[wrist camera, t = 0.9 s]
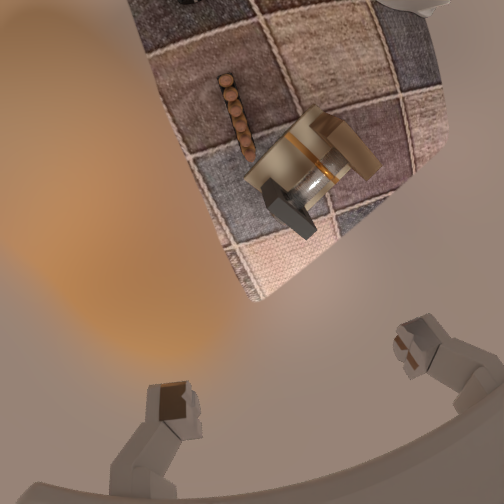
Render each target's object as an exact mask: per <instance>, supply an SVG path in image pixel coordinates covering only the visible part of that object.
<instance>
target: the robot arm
mask: <svg viewBox="0 0 504 504" xmlns="http://www.w3.org/2000/svg"><path fill="white" fill-rule="evenodd" d="M377 1H378V2H380V3H381V4H383V5H385V6H387V7H390V8H393V9H396V10H401V11H410V12H413V13H415V14H417V15H419V16H421V17H423V18H428V17H430V16H431V15H432V14H433V12H434V11H435V9H436V8H437V7H440V6H445V5H448V4H450V0H377ZM396 332H397V334H398V335H397V336H396V338H395V339H394V342H393V350H394V353H395V355H396V357H397V359H398V360H399V361H401V362H403V363H404V365H403V369H404V370H405V372H406V374H407V375H408V377H409V378H410V380H411V379H414V378H416V377H418V376H420V375H422V374H425V373H427V374H428V375H430V376H431V377H433V378H435V379H436V380H438V381H440V382H441V383H443V384H444V385H446V386H448V387H449V388H451V389H453V390H454V391H456V392H458V393H459V395H458V396H457V398H456V399H455V400H454V403H453V406H454V407H455V409H456V411H457V413H458V414H459V415H458V416H456V417H454V418H453V419H451V420H450V421H448V422H446V423H445V424H443V425H441V426H440V427H438V428H436V429H434V430H432V431H431V432H429V433H427V434H425V435H423V436H421V437H419V438H418V439H416V440H414V441H412V442H410V443H408V444H406V445H404V446H401V447H399V448H397V449H395V450H393V451H390V452H388V453H386V454H384V455H382V456H379V457H377V458H374V459H372V460H369V461H367V462H364V463H362V464H359V465H356V466H354V467H351V468H348V469H345V470H342V471H339V472H336V473H333V474H329V475H326V476H323V477H319V478H316V479H312V480H309V481H305V482H301V483H297V484H293V485H289V486H284V487H279V488H275V489H269V490H264V491H258V492H252V493H246V494H238V495H231V496H221V497H209V498H192V499H177V490H176V486H175V485H174V484H173V483H171V482H170V481H168V480H166V479H165V478H163V477H164V475H165V473H166V471H167V469H168V467H169V465H170V464H171V462H172V460H173V458H174V456H175V454H176V452H177V450H178V449H179V447H180V445H181V443H182V441H184V440H192V439H200V438H203V436H202V423H201V422H200V420H199V419H198V417H199V416H200V414H201V408H200V404H199V399H198V396H197V394H196V392H195V391H193V390H191V384H190V383H189V381H182V382H174V383H164V384H155V385H149V387H148V389H147V402H146V416H145V422H144V423H141V424H140V426H139V427H138V428H137V430H136V431H135V432H134V434H133V435H132V437H131V438H130V439H129V441H128V442H127V443H126V445H125V446H124V447H123V449H122V450H121V451H120V453H119V454H118V456H117V457H116V458H115V460H114V461H113V462H112V464H111V467H110V485H109V495H103V494H95V493H89V492H83V491H78V490H72V489H68V488H63V487H59V486H54V485H51V484H47V483H43V482H35V483H34V484H32V485H31V486H30V487H29V488H28V489H27V490H26V491H25V492H24V493H23V494H22V495H21V496H20V498H19V499H18V500H17V502H16V504H504V365H503V364H502V362H501V361H500V360H499V358H498V357H497V356H496V355H494V354H492V353H489V352H487V351H485V350H482V349H480V348H478V347H475V346H473V345H471V344H468V343H466V342H464V341H461V340H459V339H456V338H451V337H450V336H449V335H448V333H447V332H446V331H445V330H444V329H443V327H442V326H441V325H440V324H439V322H438V321H437V320H436V319H435V318H434V317H433V316H432V314H430V313H428V314H425V315H423V316H421V317H417V318H415V319H413V320H410V321H408V322H406V323H403V324H401V325H399V326H398V327H397V330H396Z"/></svg>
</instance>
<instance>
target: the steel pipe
mask: <svg viewBox="0 0 504 504" xmlns="http://www.w3.org/2000/svg"><path fill="white" fill-rule="evenodd" d="M348 163H349V162H348V161H347V160H346V159H345V157H344V156H343V155H342V154H341V153H340V152H339V151H338V150H336V149H335V148H334V147H333V148H332V149H331V150H330V151H329V152H328V153H327V154H325V155H324V156H323V157H322V158H321V159H320V160H318V161H317V162H316V163H315V164H314V167H313V168H312V169H311V170H310V171H309V172H308V173H307V174H306V175H305V176H304V177H303V178H302V179H301V180H300V181H299V182H298V183H297V184H296V185H295V186H294V187H293V188H292V189H291V190H290V191H289V192H288V193H287V194H286V195H285V196H284V198H285V200H286V201H288V202H289V203H290V204H291V205H292V206H293V207H295V208H296V209H297V210H298V211H300V210H301V209H302V208H303V207H304V206H305V205H306V204H307V203H308V202H309V201H310V200H311V199H312V198H313V197H314V196H315V195H316V194H317V193H318V192H319V191H320V190H321V189H322V188H323V187H324V186H325V185H326V184H327V183H328V182H329V181H332V180H333V179H334V178H335V175H336V174H337V173H338V172H339V171H340V170H341V169H342V168H344V167H345V166H346V165H347V164H348ZM270 213H271V212H270ZM271 215H272V216H273V217H274V218H275V219H276V220H277V221H278V222H279V223H280V224H282V225H286V224H285V223H284V222H283V221H281V220H280V219H279V218H278V217H276V216H275V215H274V214H273V213H271Z"/></svg>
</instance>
